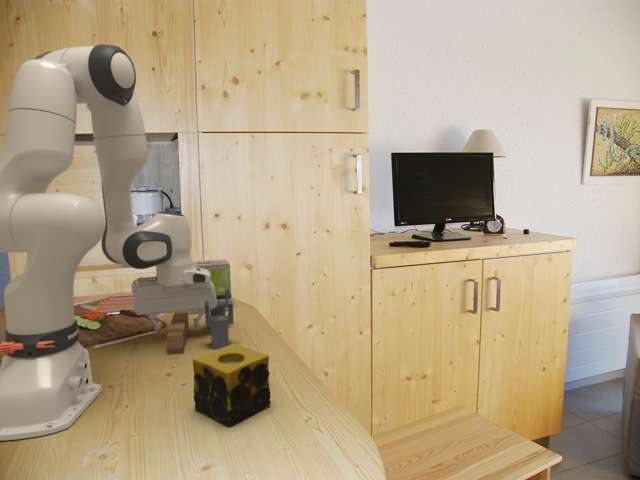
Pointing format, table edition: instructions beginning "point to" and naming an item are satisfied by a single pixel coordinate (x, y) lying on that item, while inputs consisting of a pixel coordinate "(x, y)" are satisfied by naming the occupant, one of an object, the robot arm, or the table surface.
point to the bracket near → (219, 326)
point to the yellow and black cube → (231, 384)
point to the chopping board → (110, 325)
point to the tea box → (216, 276)
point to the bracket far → (221, 305)
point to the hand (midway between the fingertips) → (177, 327)
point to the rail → (178, 333)
